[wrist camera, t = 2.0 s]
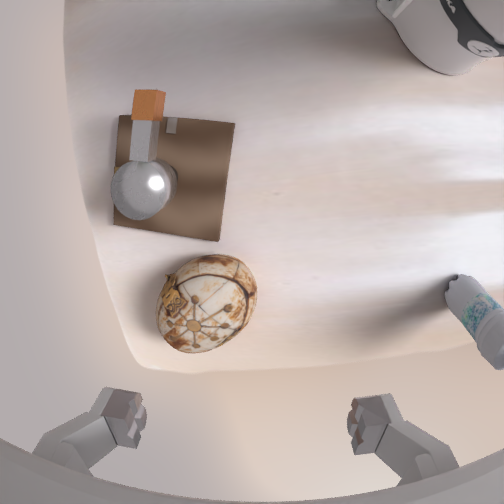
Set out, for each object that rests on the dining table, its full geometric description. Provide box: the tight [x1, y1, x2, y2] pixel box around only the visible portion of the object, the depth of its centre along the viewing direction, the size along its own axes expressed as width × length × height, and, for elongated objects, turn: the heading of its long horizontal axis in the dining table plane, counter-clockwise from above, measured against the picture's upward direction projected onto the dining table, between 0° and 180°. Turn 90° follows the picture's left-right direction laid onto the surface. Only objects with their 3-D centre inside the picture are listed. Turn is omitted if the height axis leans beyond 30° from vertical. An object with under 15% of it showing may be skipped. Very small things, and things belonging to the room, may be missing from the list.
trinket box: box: [156, 254, 257, 353], centre depth 41 cm, size 13×15×8 cm
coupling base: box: [114, 115, 235, 242], centre depth 35 cm, size 15×15×6 cm
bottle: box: [445, 274, 504, 370], centre depth 32 cm, size 7×7×20 cm
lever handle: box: [111, 90, 177, 220], centre depth 29 cm, size 13×6×4 cm, turn 171°
